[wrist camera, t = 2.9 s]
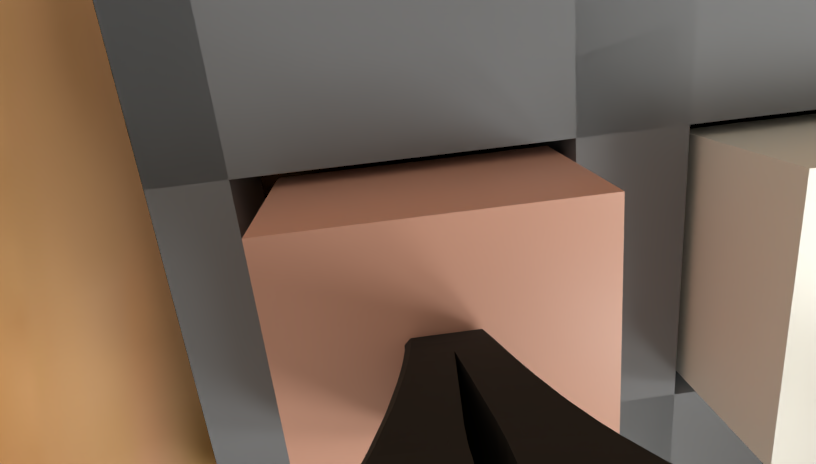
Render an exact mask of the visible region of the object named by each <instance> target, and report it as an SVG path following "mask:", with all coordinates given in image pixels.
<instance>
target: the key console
mask: <svg viewBox="0 0 816 464" xmlns="http://www.w3.org/2000/svg"><path fill="white" fill-rule="evenodd" d="M93 4H94V7H95V11H96V15H97V19H98V22H99V26H100V30H101V34H102V37H103V41H104V45H105V48H106V52H107V56H108V60H109V63H110V67H111V71H112V75H113V78H114V82H115V86H116V90H117V93H118V97H119V101H120V104H121V108H122V112H123V116H124V119H125V123H126V127H127V131H128V134H129V138H130V142H131V146H132V149H133V153H134V157H135V160H136V164H137V168H138V172H139V175H140V179H141V183H142V187H143V190H144V194H145V198H146V202H147V205H148V209H149V213H150V216H151V220H152V224H153V228H154V231H155V235H156V239H157V243H158V246H159V250H160V254H161V258H162V261H163V265H164V269H165V272H166V276H167V280H168V284H169V287H170V291H171V295H172V299H173V302H174V306H175V310H176V313H177V317H178V321H179V325H180V328H181V332H182V336H183V340H184V343H185V347H186V351H187V355H188V358H189V362H190V366H191V369H192V373H193V377H194V381H195V384H196V388H197V392H198V396H199V399H200V403H201V407H202V411H203V414H204V418H205V422H206V425H207V429H208V433H209V437H210V440H211V444H212V448H213V452H214V455H215V459H216V463H217V464H290V461H289V456H288V452H287V447H286V443H285V438H284V433H283V429H282V424H281V419H280V415H279V410H278V405H277V401H276V396H275V391H274V387H273V382H272V377H271V373H270V368H269V364H268V359H267V354H266V350H265V345H264V340H263V336H262V331H261V326H260V322H259V317H258V312H257V308H256V303H255V298H254V294H253V289H252V285H251V280H250V275H249V271H248V266H247V261H246V257H245V252H244V247H243V243H242V237H243V236H244V234H245V232H246V231H247V229H248V227H249V226H250V224H251V222H252V221H253V219H254V217H255V216H256V214H257V212H258V211H259V209H260V208H261V206H262V204H263V203H264V201H265V197H264V192H263V187H262V182H261V177H260V176H265V175H273V174H281V173H290V172H298V171H306V170H315V169H323V168H331V167H340V166H348V165H357V164H365V163H373V162H382V161H390V160H398V159H407V158H415V157H423V156H432V155H440V154H448V153H457V152H465V151H473V150H482V149H490V148H498V147H507V146H515V145H523V144H532V143H535V147H540V146H549V147H550V148H552V149H554V150H555V151H557V152H559V153H560V154H562V155H564V156H566V157H567V158H569V159H571V160H572V161H574V162H576V163H577V164H579V165H581V166H583V167H584V168H586V169H588V170H589V171H591V172H593V173H594V174H596V175H598V176H600V177H601V178H603V179H605V180H606V181H608V182H610V183H611V184H613V185H615V186H617V187H618V188H620V189H622V190H623V191H625V206H624V253H623V301H622V348H621V395H620V435H622V436H624V437H625V438H627V439H629V440H631V441H632V442H634V443H636V444H638V445H639V446H641V447H643V448H645V449H647V450H648V451H650V452H652V453H654V454H655V455H657V456H659V457H661V458H662V459H664V460H666V461H668V462H670V463H672V464H763V463H762V462H761V461H760V460H759V459H758V457H757V456H756V455H755V454H754V453H753V452H752V451H751V450H750V449H749V448H748V447H747V446H746V445H745V444H744V443H743V441H742V440H741V439H740V438H739V437H738V436H737V435H736V434H735V433H734V432H733V431H732V430H731V429H730V428H729V427H728V425H727V424H726V423H725V422H724V421H723V420H722V419H721V418H720V417H719V416H718V415H717V414H716V413H715V412H714V411H713V409H712V408H711V407H710V406H709V405H708V404H707V403H706V402H705V401H704V400H703V399H702V398H701V397H700V396H699V395H698V394H697V392H696V391H695V390H694V389H693V388H692V387H691V386H690V385H689V384H688V383H687V382H686V381H685V380H684V379H683V378H682V376H681V375H680V374H679V373H678V372H677V371H676V357H677V340H678V323H679V305H680V288H681V271H682V254H683V236H684V219H685V202H686V185H687V167H688V150H689V133H690V124H699V123H707V122H715V121H724V120H732V119H740V118H749V117H757V116H766V115H774V114H782V113H791V112H799V111H807V110H816V0H93Z"/></svg>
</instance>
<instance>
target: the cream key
mask: <svg viewBox="0 0 816 464" xmlns="http://www.w3.org/2000/svg"><path fill="white" fill-rule="evenodd" d="M676 371H677V372H678V373H679V374H680V375H681V376H682V378H683V379H684V380H685V381H686V382H687V383H688V384H689V385H690V386H691V387H692V388H693V389H694V390H695V391H696V392H697V394H698V395H699V396H700V397H701V398H702V399H703V400H704V401H705V402H706V403H707V404H708V405H709V406H710V407H711V408H712V409H713V411H714V412H715V413H716V414H717V415H718V416H719V417H720V418H721V419H722V420H723V421H724V422H725V423H726V424H727V425H728V427H729V428H730V429H731V430H732V431H733V432H734V433H735V434H736V435H737V436H738V437H739V438H740V439H741V440H742V441H743V443H744V444H745V445H746V446H747V447H748V448H749V449H750V450H751V451H752V452H753V453H754V454H755V455H756V456H757V457H758V459H759V460H760V461H761V462H762V463H763V464H816V113H815V114H807V115H798V116H790V117H782V118H773V119H765V120H757V121H748V122H740V123H732V124H723V125H715V126H707V127H698V128H690V133H689V150H688V167H687V185H686V202H685V219H684V236H683V254H682V271H681V288H680V305H679V323H678V340H677V357H676Z"/></svg>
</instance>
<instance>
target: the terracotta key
mask: <svg viewBox="0 0 816 464" xmlns="http://www.w3.org/2000/svg"><path fill="white" fill-rule="evenodd" d="M624 206H625V191H623V190H622V189H620V188H618V187H617V186H615V185H613V184H611V183H610V182H608V181H606V180H605V179H603V178H601V177H600V176H598V175H596V174H594V173H593V172H591V171H589V170H588V169H586V168H584V167H583V166H581V165H579V164H577V163H576V162H574V161H572V160H571V159H569V158H567V157H566V156H564V155H562V154H560V153H559V152H557V151H555V150H554V149H552V148H550V147H549V146H540V147H532V148H523V149H515V150H507V151H498V152H490V153H482V154H473V155H465V156H457V157H448V158H440V159H432V160H423V161H415V162H407V163H398V164H390V165H382V166H373V167H365V168H357V169H348V170H340V171H332V172H323V173H315V174H307V175H298V176H290V177H282V178H278V179H277V181H276V183H275V184H274V186H273V188H272V189H271V191H270V193H269V194H268V196H267V198H266V199H265V201H264V203H263V204H262V206H261V208H260V209H259V211H258V212H257V214H256V216H255V217H254V219H253V221H252V222H251V224H250V226H249V227H248V229H247V231H246V232H245V234H244V236H243V237H242V243H243V247H244V252H245V257H246V261H247V266H248V271H249V275H250V280H251V285H252V289H253V294H254V298H255V303H256V308H257V312H258V317H259V322H260V326H261V331H262V336H263V340H264V345H265V350H266V354H267V359H268V364H269V368H270V373H271V377H272V382H273V387H274V391H275V396H276V401H277V405H278V410H279V415H280V419H281V424H282V429H283V433H284V438H285V443H286V447H287V452H288V456H289V461H290V464H361V463H362V461H363V459H364V457H365V455H366V453H367V452H368V450H369V447H370V445H371V443H372V441H373V439H374V437H375V435H376V433H377V431H378V429H379V426H380V424H381V422H382V420H383V418H384V416H385V413H386V411H387V408H388V406H389V403H390V400H391V398H392V395H393V392H394V390H395V387H396V384H397V381H398V378H399V374H400V371H401V367H402V363H403V358H404V352H405V344H406V343H407V342H408V341H409V339H410V338H416V337H424V336H431V335H439V334H446V333H454V332H461V331H469V330H477V329H483V330H484V331H486V332H487V333H488V334H489V335H490V336H491V337H493V338H494V339H495V340H496V341H497V342H498V343H499V344H500V345H502V346H503V347H504V348H505V349H506V350H507V351H508V352H509V353H510V354H512V355H513V356H514V357H515V358H516V359H517V360H519V361H520V362H521V363H522V364H523V365H524V366H525V367H527V368H528V369H529V370H530V371H531V372H533V373H534V374H535V375H536V376H538V377H539V378H540V379H541V380H543V381H544V382H545V383H547V384H548V385H549V386H550V387H552V388H553V389H554V390H555V391H557V392H558V393H559V394H560V395H562V396H563V397H565V398H566V399H567V400H569V401H570V402H572V403H573V404H574V405H576V406H577V407H579V408H580V409H582V410H583V411H585V412H586V413H588V414H589V415H591V416H592V417H593V418H595V419H596V420H598V421H599V422H601V423H602V424H604V425H606V426H607V427H609V428H610V429H612V430H614V431H615V432H617V433H619V434H620V395H621V348H622V301H623V253H624Z"/></svg>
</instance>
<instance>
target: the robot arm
mask: <svg viewBox="0 0 816 464" xmlns="http://www.w3.org/2000/svg"><path fill="white" fill-rule="evenodd" d="M361 464H672V463H670V462H668V461H666V460H664V459H662V458H661V457H659V456H657V455H655V454H654V453H652V452H650V451H648V450H647V449H645V448H643V447H641V446H639V445H638V444H636V443H634V442H632V441H631V440H629V439H627V438H625V437H624V436H622V435H620V434H619V433H617V432H615V431H614V430H612V429H610V428H609V427H607V426H606V425H604V424H602V423H601V422H599V421H598V420H596V419H595V418H593V417H592V416H591V415H589V414H588V413H586V412H585V411H583V410H582V409H580V408H579V407H577V406H576V405H574V404H573V403H572V402H570V401H569V400H567V399H566V398H565V397H563V396H562V395H560V394H559V393H558V392H557V391H555V390H554V389H553V388H552V387H550V386H549V385H548V384H547V383H545V382H544V381H543V380H541V379H540V378H539V377H538V376H536V375H535V374H534V373H533V372H531V371H530V370H529V369H528V368H527V367H525V366H524V365H523V364H522V363H521V362H520V361H519V360H517V359H516V358H515V357H514V356H513V355H512V354H510V353H509V352H508V351H507V350H506V349H505V348H504V347H503V346H502V345H500V344H499V343H498V342H497V341H496V340H495V339H494V338H493V337H491V336H490V335H489V334H488V333H487V332H486V331H484V330H483V329H477V330H469V331H461V332H454V333H446V334H439V335H431V336H424V337H416V338H410V339H409V341H408V342H407V343H406V344H405V352H404V358H403V363H402V367H401V371H400V374H399V378H398V381H397V384H396V387H395V390H394V392H393V395H392V398H391V400H390V403H389V406H388V408H387V411H386V413H385V416H384V418H383V420H382V422H381V424H380V426H379V429H378V431H377V433H376V435H375V437H374V439H373V441H372V443H371V445H370V447H369V450H368V452H367V453H366V455H365V457H364V459H363V461H362V463H361Z"/></svg>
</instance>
